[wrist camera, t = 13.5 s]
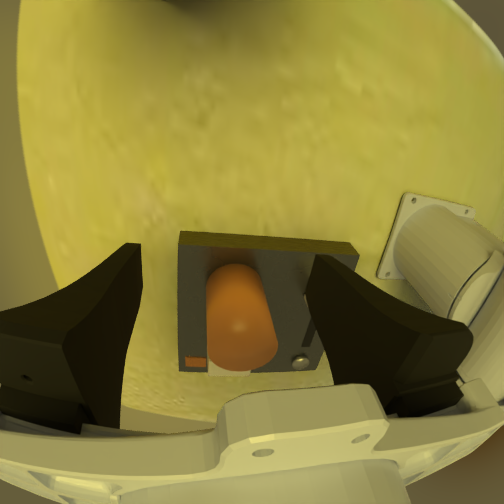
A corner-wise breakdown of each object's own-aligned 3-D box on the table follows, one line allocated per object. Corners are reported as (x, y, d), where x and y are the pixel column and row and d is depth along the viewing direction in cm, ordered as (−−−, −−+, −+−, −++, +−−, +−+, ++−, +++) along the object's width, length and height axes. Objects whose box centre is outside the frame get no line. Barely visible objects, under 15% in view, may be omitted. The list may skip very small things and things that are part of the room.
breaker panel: (349, 242, 24) (361, 258, 22) (310, 355, 30) (316, 373, 28) (180, 230, 22) (177, 247, 20) (179, 355, 28) (178, 374, 26)
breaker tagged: (247, 333, 25) (252, 361, 22) (245, 348, 25) (249, 376, 23) (208, 332, 24) (209, 361, 21) (206, 347, 25) (208, 375, 22)
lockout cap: (272, 278, 22) (292, 338, 17) (242, 315, 24) (253, 377, 18) (224, 254, 21) (230, 314, 16) (196, 296, 22) (195, 359, 17)
